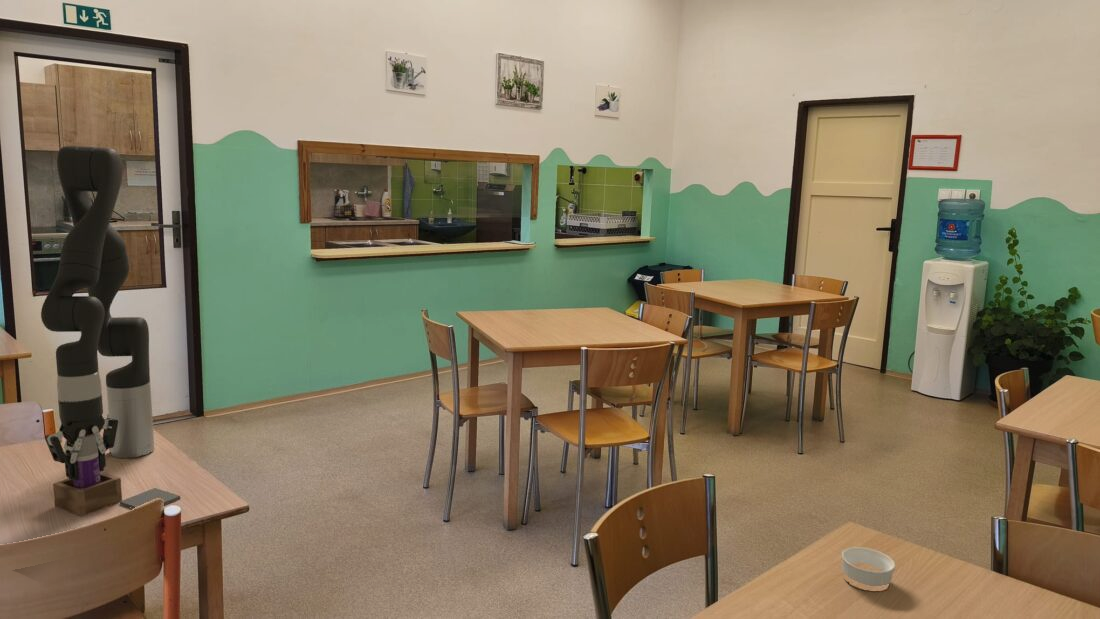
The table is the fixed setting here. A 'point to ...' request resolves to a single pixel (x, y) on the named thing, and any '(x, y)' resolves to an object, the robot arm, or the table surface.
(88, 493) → the holder
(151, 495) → the mat
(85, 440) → the container
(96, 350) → the robot arm
